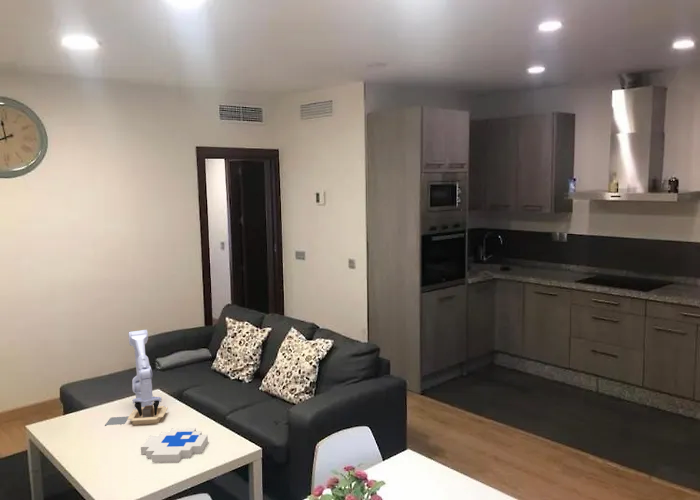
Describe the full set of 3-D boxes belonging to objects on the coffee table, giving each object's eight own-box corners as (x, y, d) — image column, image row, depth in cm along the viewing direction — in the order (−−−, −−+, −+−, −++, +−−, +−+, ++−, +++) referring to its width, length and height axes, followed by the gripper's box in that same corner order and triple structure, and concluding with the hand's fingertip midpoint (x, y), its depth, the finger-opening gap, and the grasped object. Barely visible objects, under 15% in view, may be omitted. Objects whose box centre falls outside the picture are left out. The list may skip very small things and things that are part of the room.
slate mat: (110, 418, 315) (110, 417, 314) (129, 416, 315) (129, 416, 315) (104, 425, 305) (104, 425, 305) (124, 424, 306) (124, 423, 306)
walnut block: (146, 416, 315) (145, 405, 314) (153, 415, 315) (153, 405, 314) (143, 421, 308) (142, 410, 307) (150, 421, 308) (150, 410, 308)
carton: (135, 413, 320) (135, 407, 319) (169, 411, 321) (168, 405, 321) (126, 427, 302) (125, 420, 301) (162, 425, 304) (161, 418, 303)
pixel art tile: (155, 428, 291) (211, 427, 290) (156, 436, 291) (212, 435, 291) (134, 455, 263) (195, 454, 262) (134, 463, 264) (196, 462, 263)
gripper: (130, 394, 305) (132, 418, 307) (158, 392, 306) (160, 417, 308) (133, 389, 312) (135, 413, 314) (161, 387, 313) (163, 411, 315)
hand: (148, 415), depth 311 cm, fingers open, 7 cm apart
